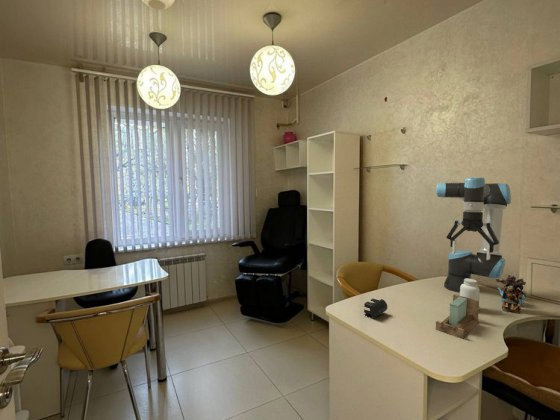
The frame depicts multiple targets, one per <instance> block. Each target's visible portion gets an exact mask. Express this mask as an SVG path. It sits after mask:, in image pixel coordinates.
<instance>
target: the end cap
mask: <svg viewBox="0 0 560 420" xmlns="http://www.w3.org/2000/svg"><path fill="white" fill-rule="evenodd" d="M363 307H364V309H363V313H364V315H365V316H364V315H363V316H364V317H366V316H367V317H366V318H369V317H370V318H369V319H372V318H373V319H376V318H377V317H379V316H380V315H383V313H384V312H386V311H387V310H388V304H387V302H386V301H385V300H384V299H382V298H381V299H377V298H372V299H370V301H366V302H364V305H363ZM366 308H367V309H366ZM368 309H369V310H368Z"/></svg>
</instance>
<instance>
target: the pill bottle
mask: <svg viewBox="0 0 560 420" xmlns="http://www.w3.org/2000/svg"><path fill="white" fill-rule="evenodd" d="M477 284H478V281H477V280H476V279H474V278H471V279H468V278H466V279H464V284H462V285H461V286H460V292H459V296H463V297H467V298H471V299H475V300H479V301H480V292H481V291H480V287H479V286H477Z"/></svg>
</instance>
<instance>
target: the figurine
mask: <svg viewBox="0 0 560 420" xmlns="http://www.w3.org/2000/svg"><path fill="white" fill-rule="evenodd" d="M495 281H496V283H501V284H503V287H501V288H500V289H501V291H503V296H501V300H502V299H505V300H504V301H502V302H503V303H502V304H501V309H502V311H503V312H507V313H512V314H520V313H521V310H522V308H521V304H520V305H519V304H518V303H519V299H522V296H523V295H524V296H525V299H526V298H527V293H526V292H524V291H523V290H524V286H525V285H526V284H527V283H526V281H525V280H524V278H519V279H517V278H516V276H515V275H510V274H508V277H506V279H504V278H501V279H500V278H495Z"/></svg>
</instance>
